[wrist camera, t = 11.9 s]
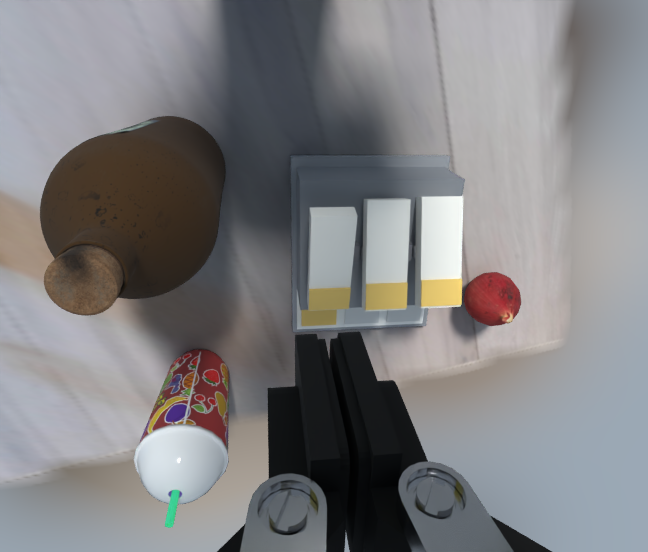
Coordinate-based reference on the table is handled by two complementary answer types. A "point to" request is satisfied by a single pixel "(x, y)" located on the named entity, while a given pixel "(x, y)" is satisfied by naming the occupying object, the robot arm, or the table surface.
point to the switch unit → (359, 225)
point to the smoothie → (186, 432)
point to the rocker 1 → (330, 257)
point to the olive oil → (131, 213)
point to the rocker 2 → (385, 253)
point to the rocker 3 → (438, 251)
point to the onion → (492, 299)
